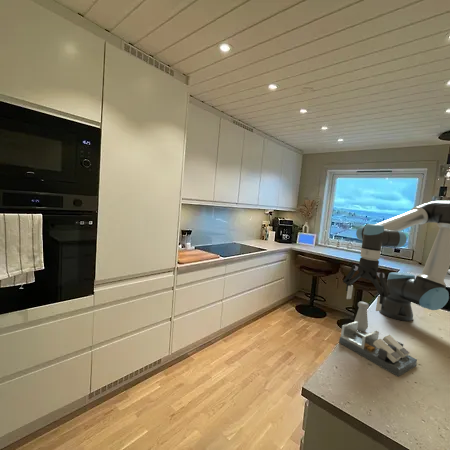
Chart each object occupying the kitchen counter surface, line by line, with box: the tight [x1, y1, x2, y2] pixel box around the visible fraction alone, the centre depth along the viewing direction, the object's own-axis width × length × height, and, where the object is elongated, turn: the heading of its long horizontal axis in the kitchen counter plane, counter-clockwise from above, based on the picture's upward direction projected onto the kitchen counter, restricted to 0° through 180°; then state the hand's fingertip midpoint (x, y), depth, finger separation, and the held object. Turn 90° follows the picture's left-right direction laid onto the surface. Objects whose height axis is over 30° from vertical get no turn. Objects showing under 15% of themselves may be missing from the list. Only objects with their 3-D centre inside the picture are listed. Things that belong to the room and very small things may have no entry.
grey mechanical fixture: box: [338, 321, 418, 377], centre depth 97 cm, size 13×22×8 cm, turn 31°
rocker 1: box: [373, 338, 401, 363], centre depth 91 cm, size 4×8×2 cm, turn 31°
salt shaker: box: [353, 301, 370, 333], centre depth 116 cm, size 6×6×13 cm
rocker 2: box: [381, 334, 410, 358], centre depth 94 cm, size 4×8×2 cm, turn 31°
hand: (362, 304), depth 115 cm, fingers open, 13 cm apart
